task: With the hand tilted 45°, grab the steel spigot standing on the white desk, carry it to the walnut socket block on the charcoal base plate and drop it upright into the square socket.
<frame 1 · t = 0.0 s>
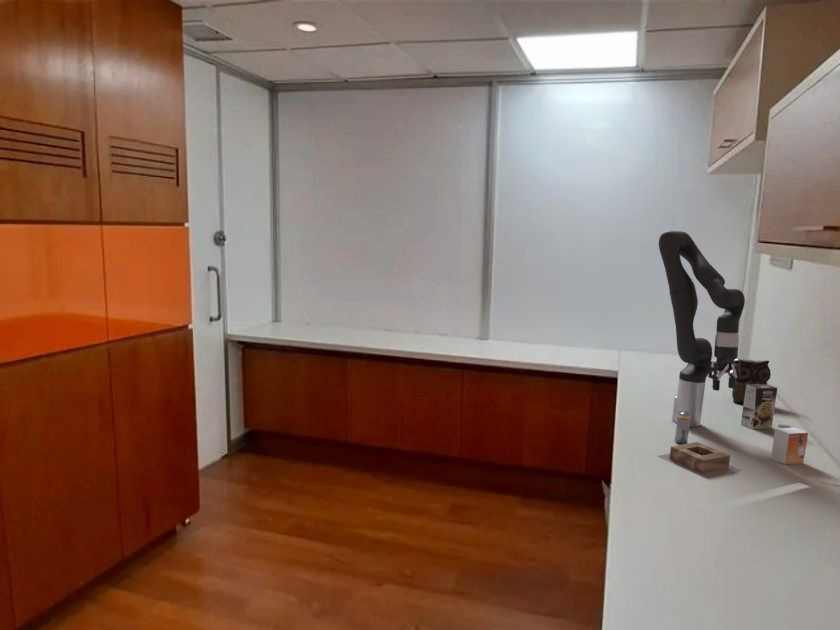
hand: (723, 389, 218), 17 cm above the worktop, tool pointing down, fingers open, 8 cm apart
coffee box: (756, 426, 232), on the worktop
socket block: (698, 463, 188), resting on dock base
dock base: (698, 467, 188), on the worktop
owl: (747, 402, 265), on the worktop
spigot: (680, 446, 206), on the worktop
small box: (787, 461, 198), on the worktop
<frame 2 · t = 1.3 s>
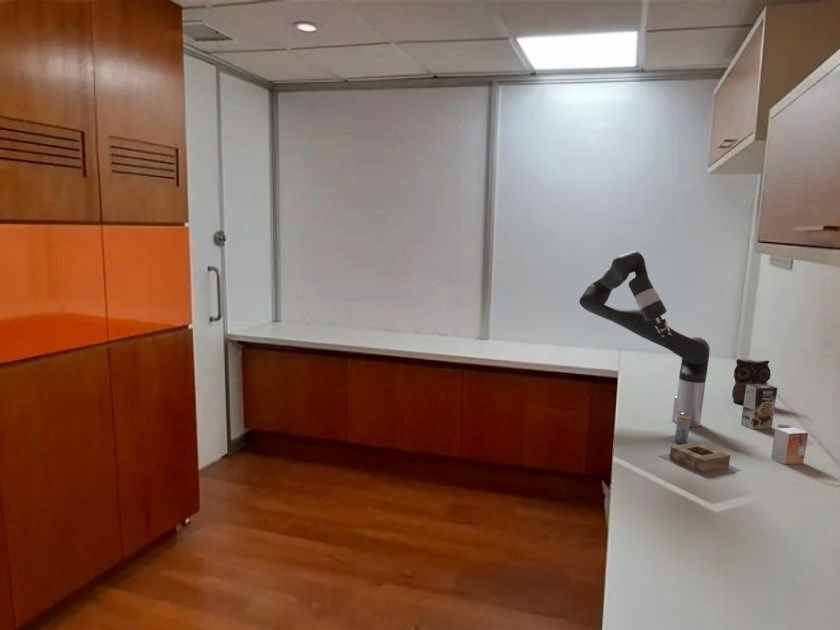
hand: (672, 346, 205), 34 cm above the worktop, tool tilted 35°, fingers open, 8 cm apart
nothing on the worktop moved.
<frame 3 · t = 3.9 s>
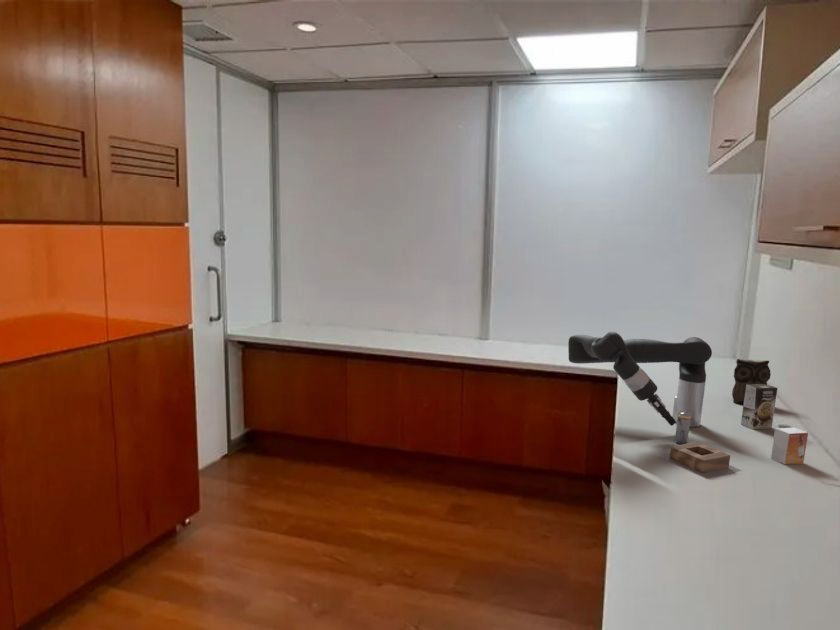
hand: (670, 419, 204), 10 cm above the worktop, tool tilted 45°, fingers open, 8 cm apart
nothing on the worktop moved.
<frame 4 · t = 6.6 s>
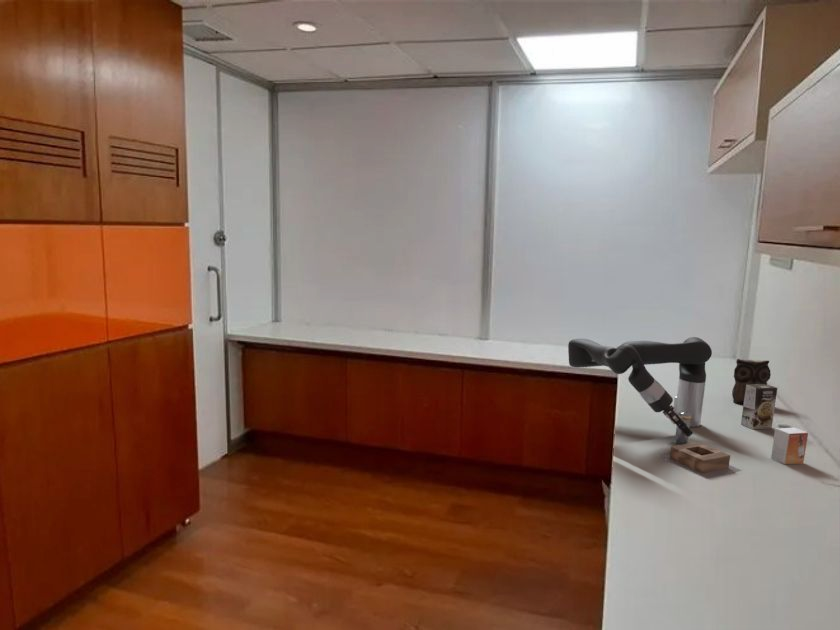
hand: (688, 432, 205), 5 cm above the worktop, tool tilted 45°, fingers closed on spigot, 4 cm apart
spigot: (680, 446, 206), on the worktop, touching gripper
everything else where it was.
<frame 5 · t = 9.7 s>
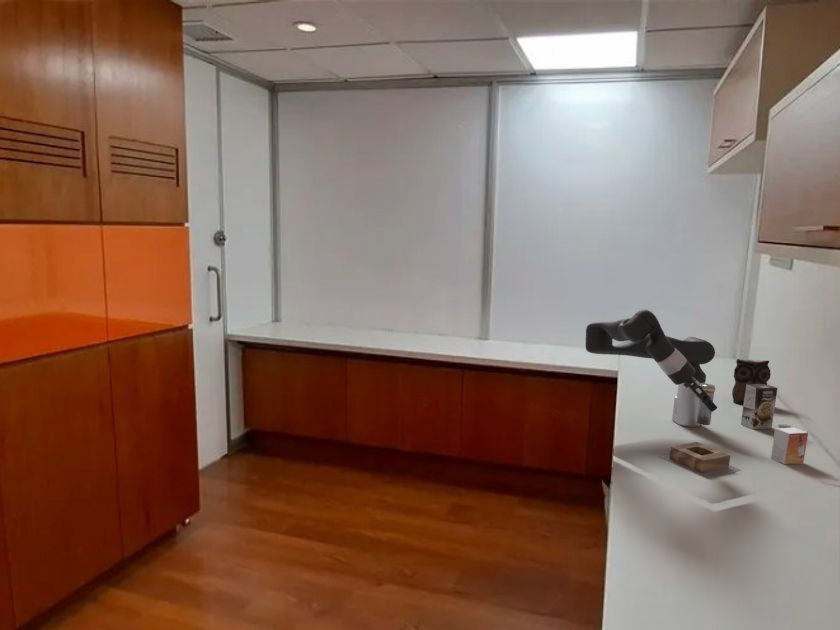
hand: (711, 407, 185), 20 cm above the worktop, tool tilted 45°, fingers closed on spigot, 4 cm apart
spigot: (702, 423, 186), point 14 cm above the worktop, touching gripper
everything else where it was.
when the fingers open (9 cm above the worktop, at t = 12.9 s): spigot drops 2 cm, resting on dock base.
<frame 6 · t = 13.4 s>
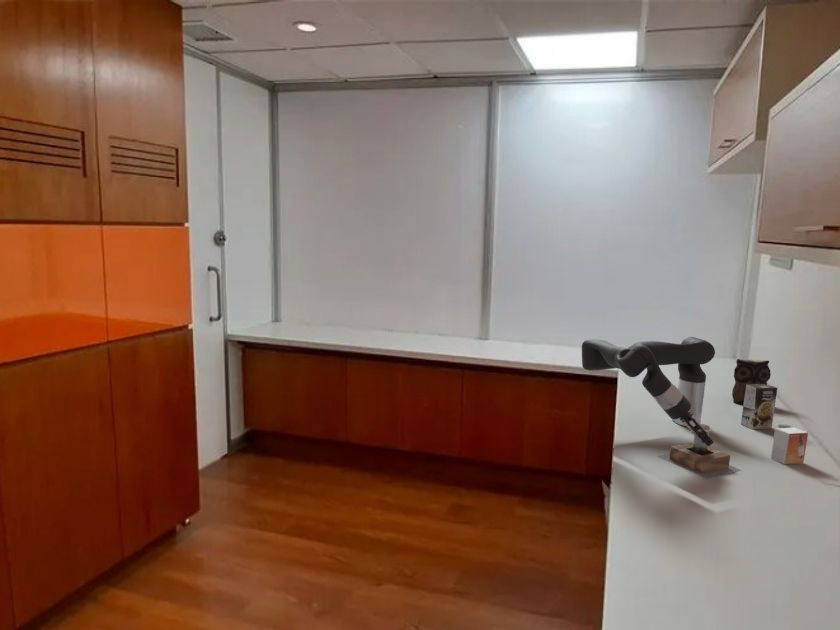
hand: (706, 439, 187), 9 cm above the worktop, tool tilted 45°, fingers open, 8 cm apart
spigot: (698, 462, 188), point 2 cm above the worktop, touching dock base
everything else where it was.
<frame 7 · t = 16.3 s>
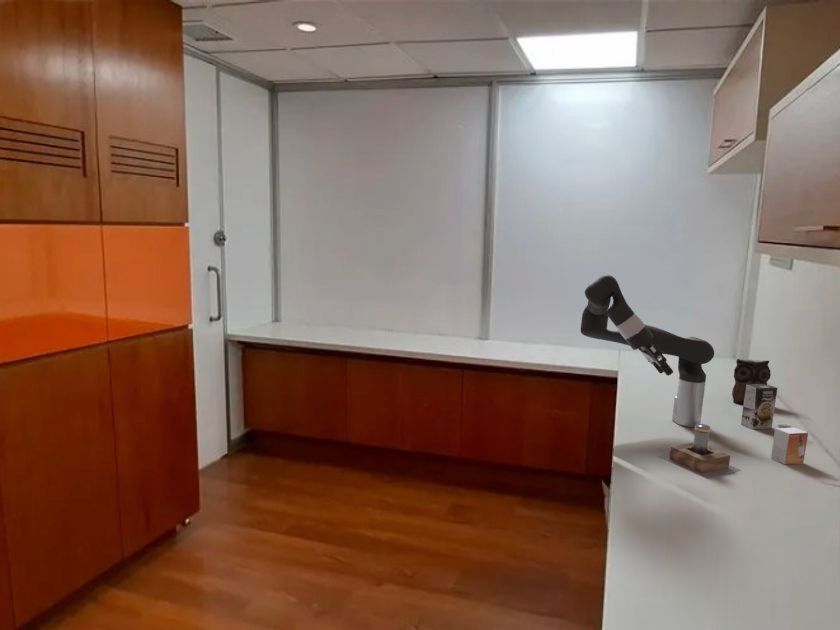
hand: (666, 373, 189), 29 cm above the worktop, tool tilted 40°, fingers open, 8 cm apart
nothing on the worktop moved.
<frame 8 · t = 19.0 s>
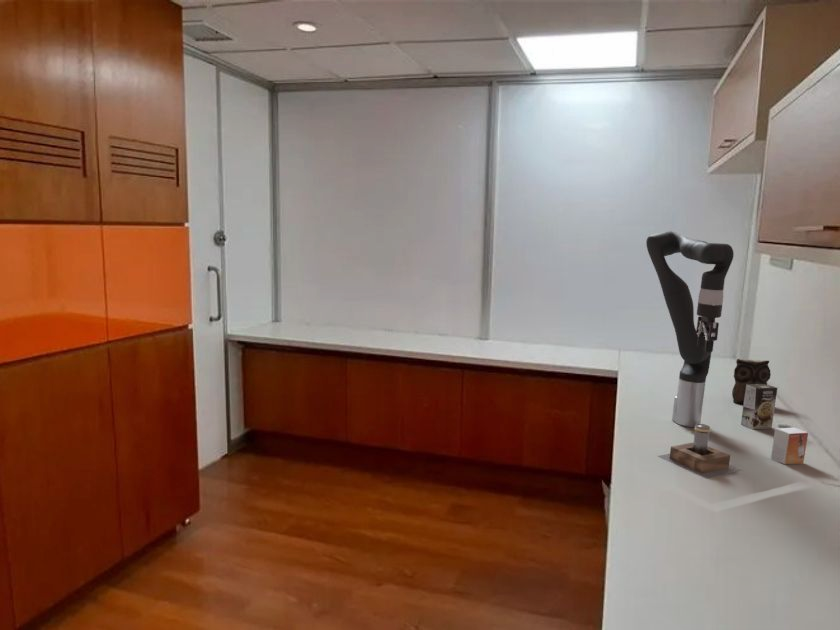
hand: (704, 349, 207), 33 cm above the worktop, tool pointing down, fingers open, 8 cm apart
nothing on the worktop moved.
at the end: spigot 0.2 cm off-centre on the socket block, point 0.0 cm above the socket block's base; spigot tilted 1°; the gripper is holding nothing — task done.
